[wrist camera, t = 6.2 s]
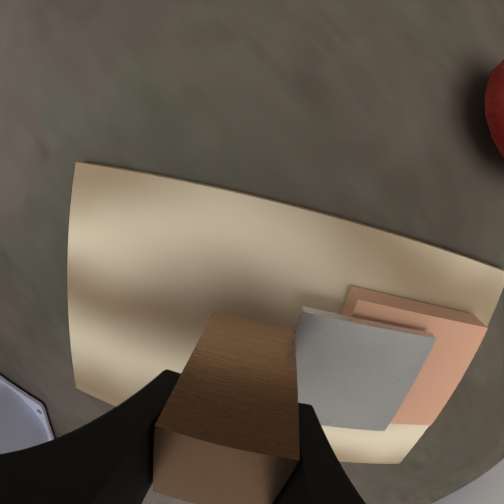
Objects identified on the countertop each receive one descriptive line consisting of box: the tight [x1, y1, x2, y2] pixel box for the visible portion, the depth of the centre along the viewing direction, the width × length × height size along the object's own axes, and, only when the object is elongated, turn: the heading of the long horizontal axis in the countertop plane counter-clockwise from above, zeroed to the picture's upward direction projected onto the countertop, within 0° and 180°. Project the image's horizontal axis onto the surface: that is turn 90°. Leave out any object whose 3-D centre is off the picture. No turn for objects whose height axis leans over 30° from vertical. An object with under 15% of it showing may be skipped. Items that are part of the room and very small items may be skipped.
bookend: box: [153, 306, 436, 504], centre depth 8 cm, size 5×8×6 cm, turn 77°
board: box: [67, 162, 504, 463], centre depth 14 cm, size 14×22×1 cm, turn 77°
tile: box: [340, 285, 488, 425], centre depth 12 cm, size 6×2×7 cm
